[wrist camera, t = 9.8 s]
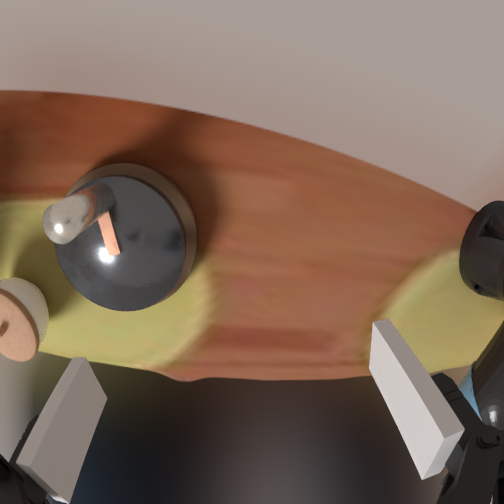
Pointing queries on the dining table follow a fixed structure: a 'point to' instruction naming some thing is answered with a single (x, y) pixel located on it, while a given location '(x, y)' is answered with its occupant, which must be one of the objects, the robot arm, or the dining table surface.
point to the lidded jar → (21, 318)
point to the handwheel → (118, 241)
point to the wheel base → (170, 191)
